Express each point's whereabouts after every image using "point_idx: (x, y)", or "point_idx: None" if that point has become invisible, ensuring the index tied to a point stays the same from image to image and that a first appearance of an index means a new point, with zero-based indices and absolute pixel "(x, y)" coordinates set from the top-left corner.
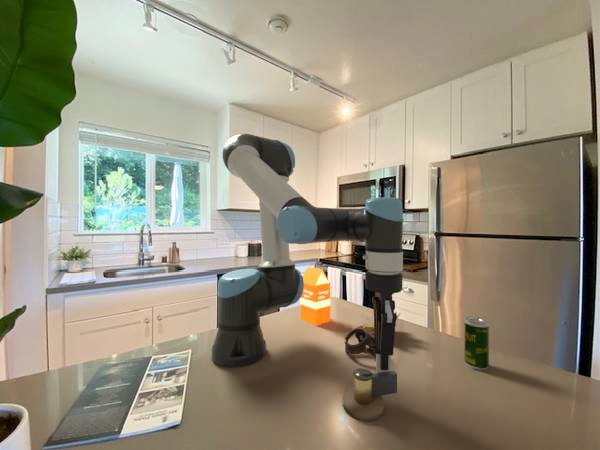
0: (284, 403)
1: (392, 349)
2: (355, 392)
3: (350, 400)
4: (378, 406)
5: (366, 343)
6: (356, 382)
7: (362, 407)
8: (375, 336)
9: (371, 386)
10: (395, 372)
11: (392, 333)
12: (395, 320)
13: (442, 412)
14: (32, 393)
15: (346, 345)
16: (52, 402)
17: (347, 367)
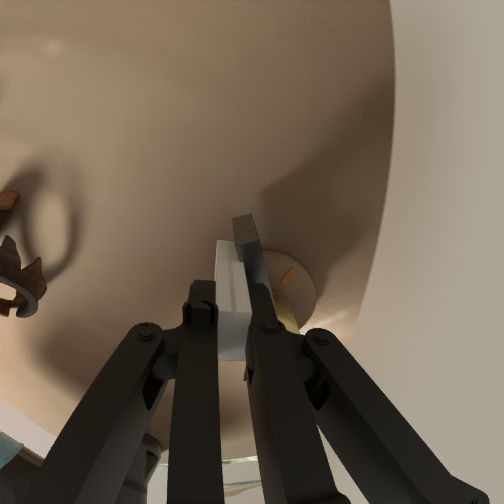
0: (246, 402)
1: (349, 359)
2: None
3: None
4: (296, 276)
5: (16, 271)
6: None
7: (296, 311)
8: (162, 392)
9: (288, 316)
10: (250, 244)
11: (409, 438)
12: (472, 490)
13: (296, 92)
14: (232, 492)
15: (31, 314)
16: (243, 487)
17: (90, 299)
